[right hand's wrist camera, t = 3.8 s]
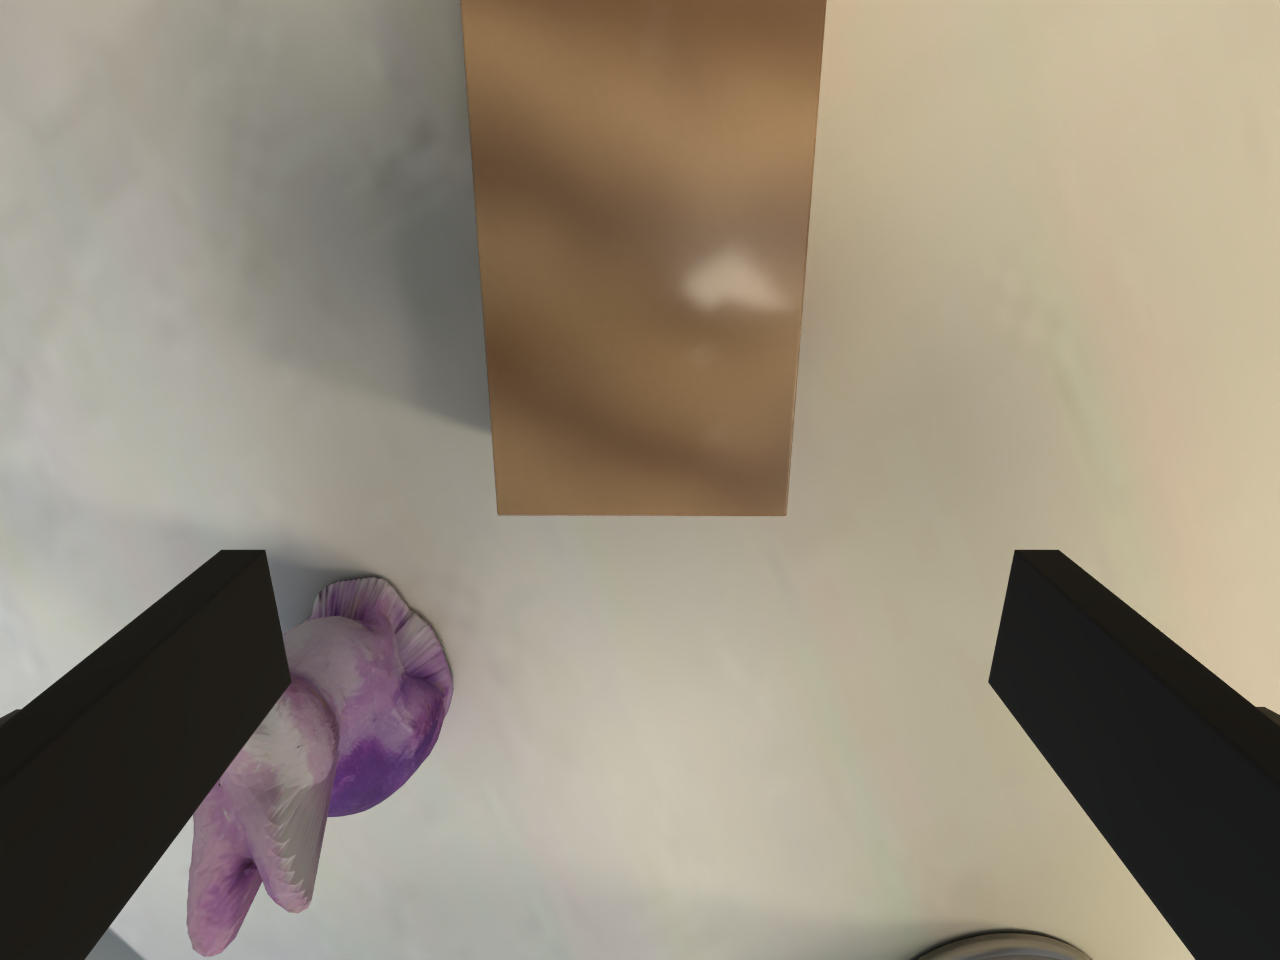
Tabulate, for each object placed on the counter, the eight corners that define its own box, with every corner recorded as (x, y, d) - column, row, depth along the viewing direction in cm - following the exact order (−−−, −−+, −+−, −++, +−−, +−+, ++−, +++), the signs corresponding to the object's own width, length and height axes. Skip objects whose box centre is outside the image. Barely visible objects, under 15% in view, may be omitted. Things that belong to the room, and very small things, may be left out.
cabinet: (499, -105, 26) (442, -237, 18) (785, -104, 26) (845, -237, 18) (529, 448, 33) (497, 516, 26) (753, 448, 33) (787, 516, 26)
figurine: (322, 533, 35) (106, 748, 21) (499, 643, 37) (411, 907, 23) (234, 664, 37) (-12, 935, 23) (404, 760, 39) (272, 1062, 25)
